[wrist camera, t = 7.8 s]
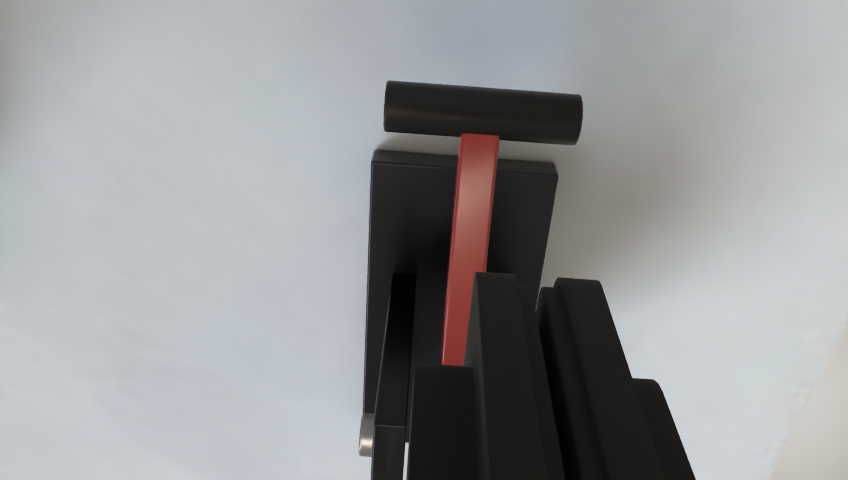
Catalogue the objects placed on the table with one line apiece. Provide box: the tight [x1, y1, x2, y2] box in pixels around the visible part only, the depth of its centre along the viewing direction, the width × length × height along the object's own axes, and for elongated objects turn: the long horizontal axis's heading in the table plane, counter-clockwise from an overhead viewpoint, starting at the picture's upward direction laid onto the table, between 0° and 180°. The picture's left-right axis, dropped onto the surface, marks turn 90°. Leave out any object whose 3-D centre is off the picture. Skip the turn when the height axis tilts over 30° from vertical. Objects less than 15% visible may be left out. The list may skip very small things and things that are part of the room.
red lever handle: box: [384, 81, 583, 366], centre depth 23 cm, size 13×6×2 cm, turn 176°
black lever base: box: [359, 150, 558, 480], centre depth 27 cm, size 14×7×10 cm, turn 176°
